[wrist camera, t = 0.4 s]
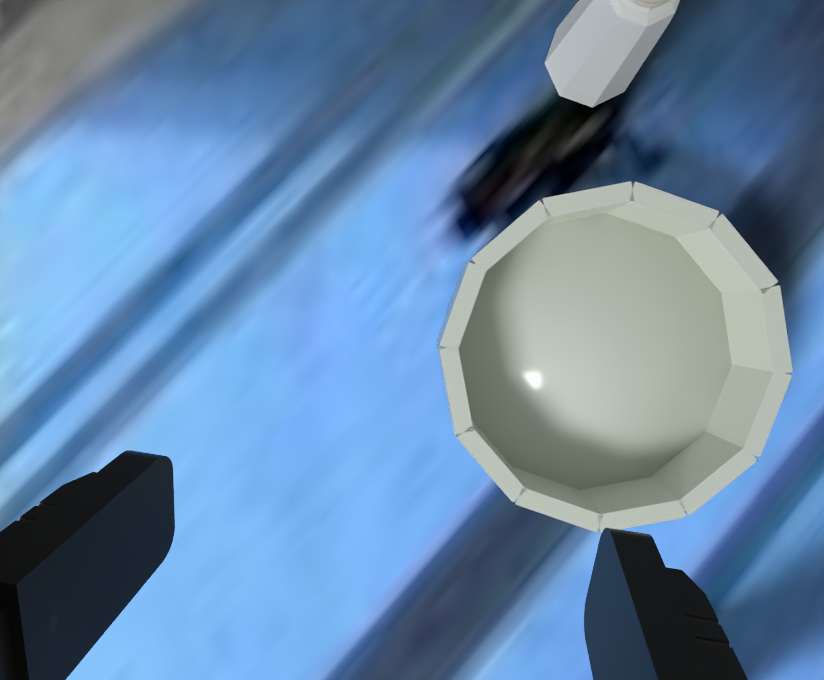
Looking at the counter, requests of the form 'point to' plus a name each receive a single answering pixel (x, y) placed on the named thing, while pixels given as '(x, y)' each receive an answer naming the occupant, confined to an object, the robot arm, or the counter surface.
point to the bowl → (615, 356)
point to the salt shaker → (605, 46)
